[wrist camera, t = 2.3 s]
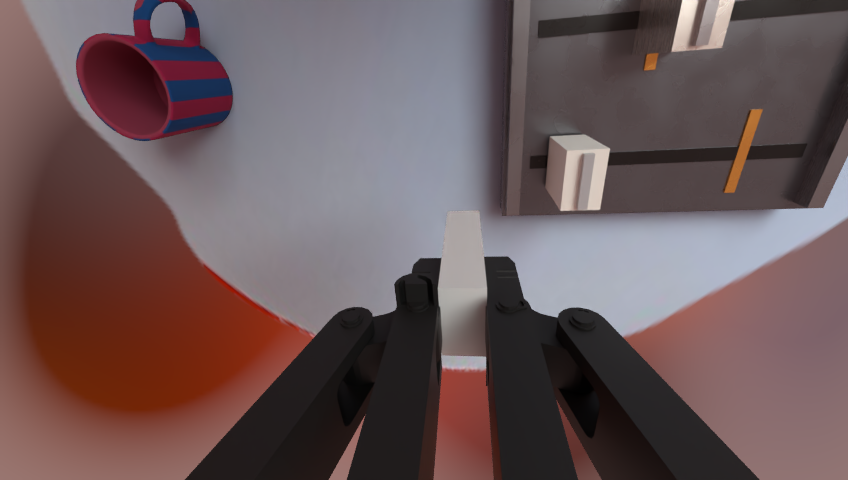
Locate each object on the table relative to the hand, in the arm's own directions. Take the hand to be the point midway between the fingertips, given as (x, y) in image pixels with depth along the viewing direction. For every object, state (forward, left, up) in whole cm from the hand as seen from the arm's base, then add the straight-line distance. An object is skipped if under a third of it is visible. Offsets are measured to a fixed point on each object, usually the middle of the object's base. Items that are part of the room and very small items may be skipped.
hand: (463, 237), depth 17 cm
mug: (-9, -22, -15) cm, 28 cm away
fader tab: (0, +8, -12) cm, 14 cm away
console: (-5, +15, -15) cm, 21 cm away
